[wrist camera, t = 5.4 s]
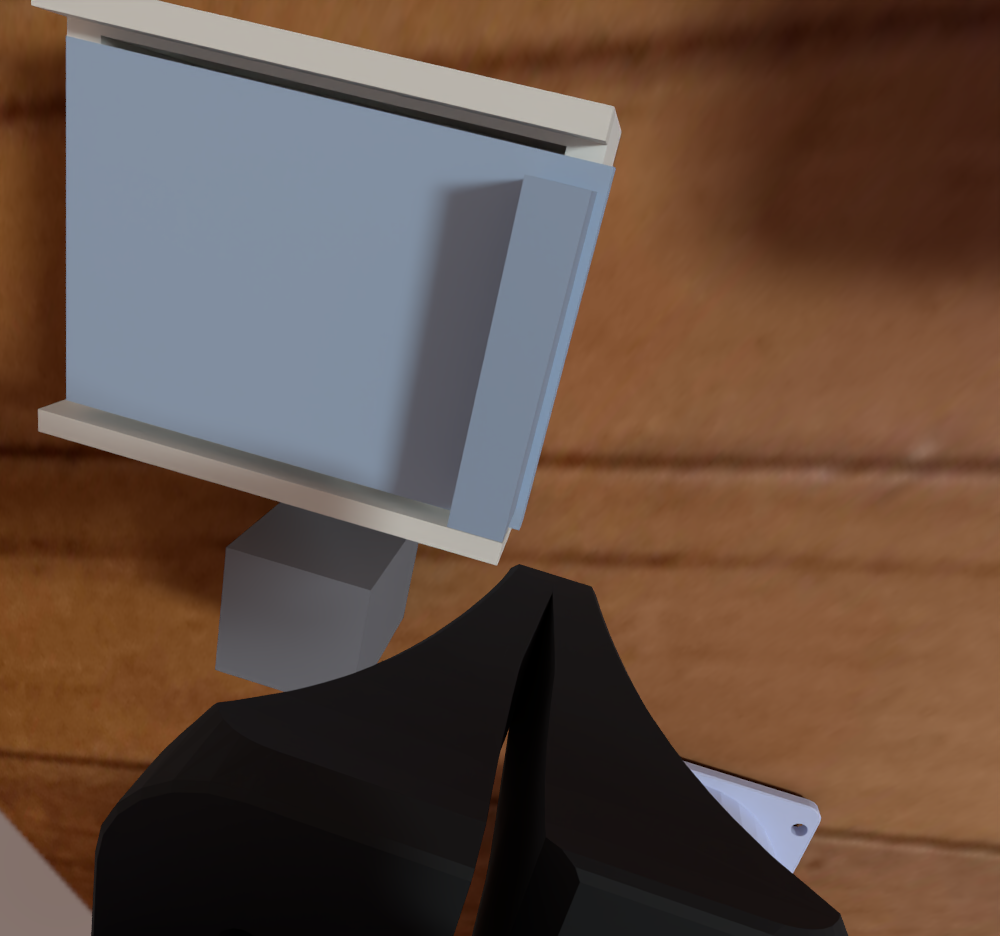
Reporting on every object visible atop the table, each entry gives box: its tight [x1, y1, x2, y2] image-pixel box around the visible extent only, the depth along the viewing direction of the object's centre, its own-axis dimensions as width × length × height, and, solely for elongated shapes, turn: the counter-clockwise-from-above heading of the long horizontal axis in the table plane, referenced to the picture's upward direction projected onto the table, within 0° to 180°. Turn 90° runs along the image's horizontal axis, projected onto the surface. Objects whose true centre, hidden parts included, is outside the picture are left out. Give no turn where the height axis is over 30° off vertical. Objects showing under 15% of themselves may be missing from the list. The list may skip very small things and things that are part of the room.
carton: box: [31, 0, 621, 565], centre depth 18 cm, size 10×12×5 cm
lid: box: [66, 36, 616, 543], centre depth 15 cm, size 8×12×2 cm
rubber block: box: [215, 502, 418, 692], centre depth 22 cm, size 4×4×5 cm
